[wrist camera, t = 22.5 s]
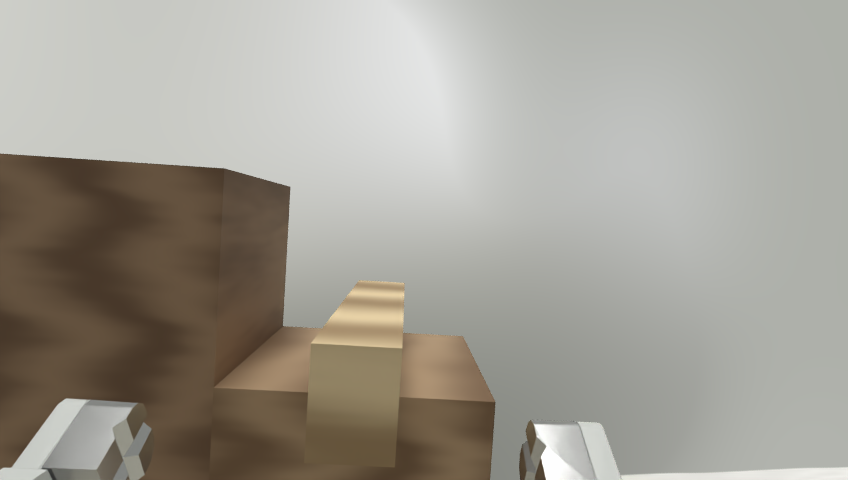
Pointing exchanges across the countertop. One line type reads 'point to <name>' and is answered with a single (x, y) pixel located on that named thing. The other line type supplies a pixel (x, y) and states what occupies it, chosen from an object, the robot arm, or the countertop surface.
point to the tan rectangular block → (357, 379)
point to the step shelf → (193, 326)
